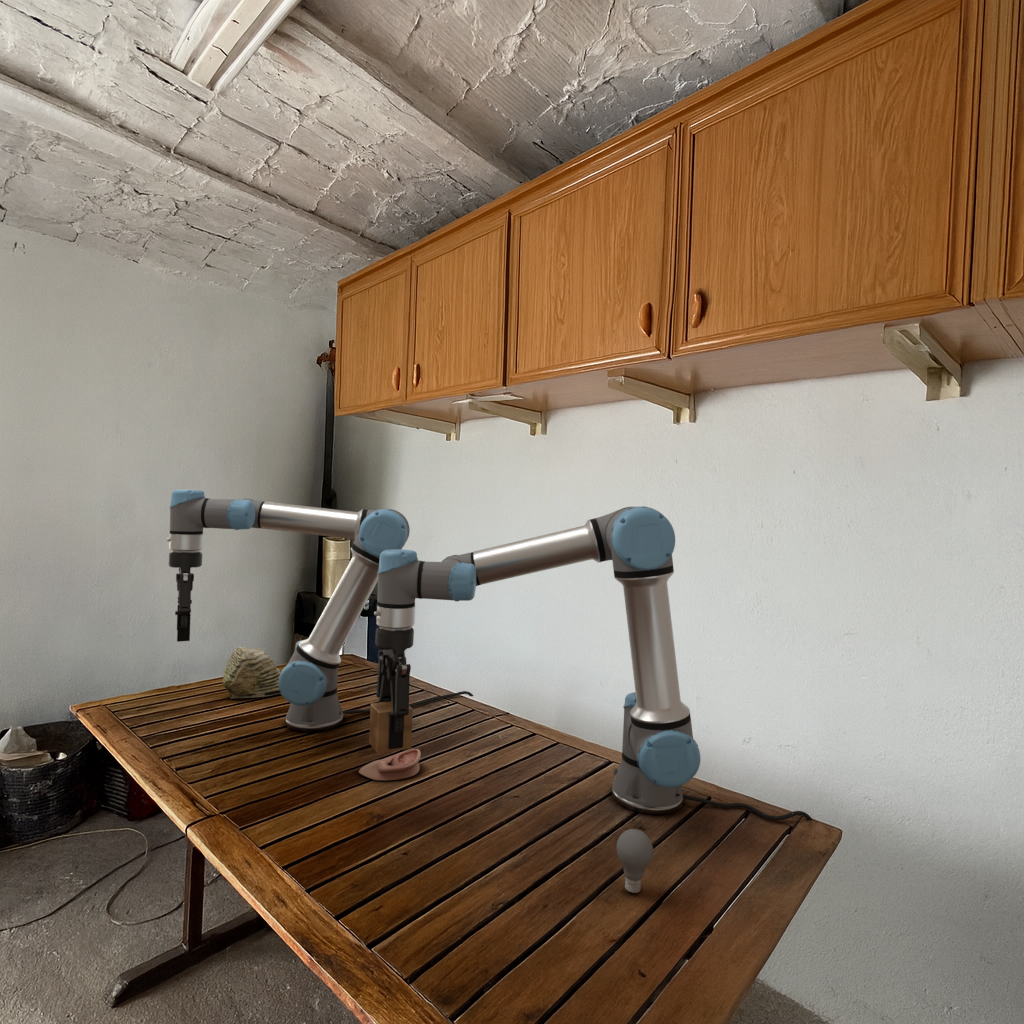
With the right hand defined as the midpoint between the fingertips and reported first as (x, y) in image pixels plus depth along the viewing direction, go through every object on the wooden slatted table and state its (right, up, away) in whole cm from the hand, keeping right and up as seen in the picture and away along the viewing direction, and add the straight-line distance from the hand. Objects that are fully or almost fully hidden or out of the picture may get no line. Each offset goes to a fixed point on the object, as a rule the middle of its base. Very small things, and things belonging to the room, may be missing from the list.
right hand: (390, 741), depth 127 cm
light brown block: (0, -1, 0) cm, 1 cm away
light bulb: (+45, -17, -21) cm, 52 cm away
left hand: (-58, +15, +32) cm, 68 cm away
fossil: (-56, -11, +71) cm, 91 cm away
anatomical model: (-4, -14, +20) cm, 25 cm away
